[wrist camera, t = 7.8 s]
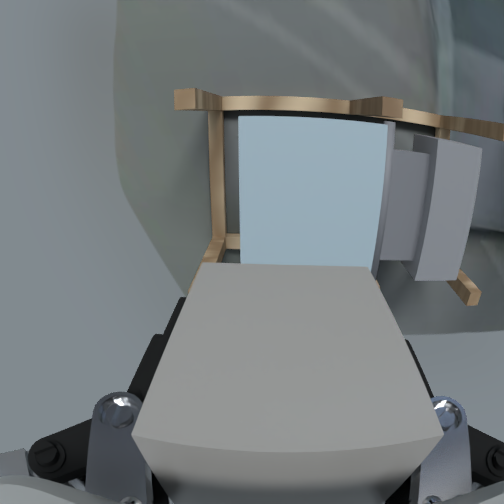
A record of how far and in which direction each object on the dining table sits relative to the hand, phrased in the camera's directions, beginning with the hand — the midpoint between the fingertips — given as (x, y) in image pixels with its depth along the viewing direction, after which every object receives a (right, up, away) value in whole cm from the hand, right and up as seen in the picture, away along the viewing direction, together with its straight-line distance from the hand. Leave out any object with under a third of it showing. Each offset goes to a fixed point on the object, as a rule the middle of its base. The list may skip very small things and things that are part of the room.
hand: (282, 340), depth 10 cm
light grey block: (0, 0, 0) cm, 0 cm away
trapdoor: (+9, +8, +19) cm, 22 cm away
